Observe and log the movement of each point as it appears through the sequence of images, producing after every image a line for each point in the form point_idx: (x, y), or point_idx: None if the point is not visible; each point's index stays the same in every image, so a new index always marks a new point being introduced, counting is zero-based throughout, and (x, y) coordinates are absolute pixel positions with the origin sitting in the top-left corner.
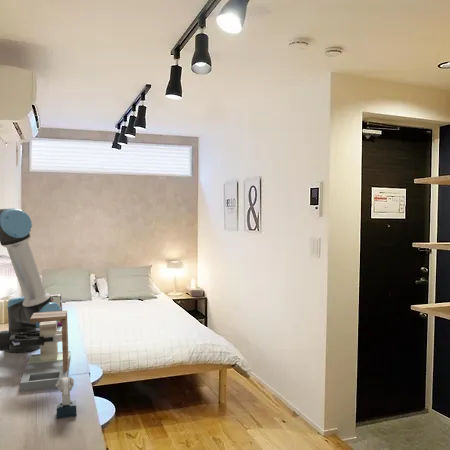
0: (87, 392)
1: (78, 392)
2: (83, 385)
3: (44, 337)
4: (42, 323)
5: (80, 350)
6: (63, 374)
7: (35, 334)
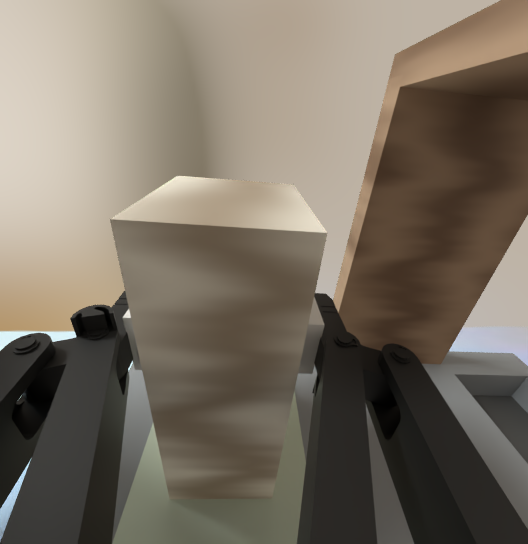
0: (509, 330)
1: (523, 347)
2: (463, 335)
3: (321, 334)
4: (243, 216)
5: (55, 334)
6: (481, 362)
7: (104, 439)
